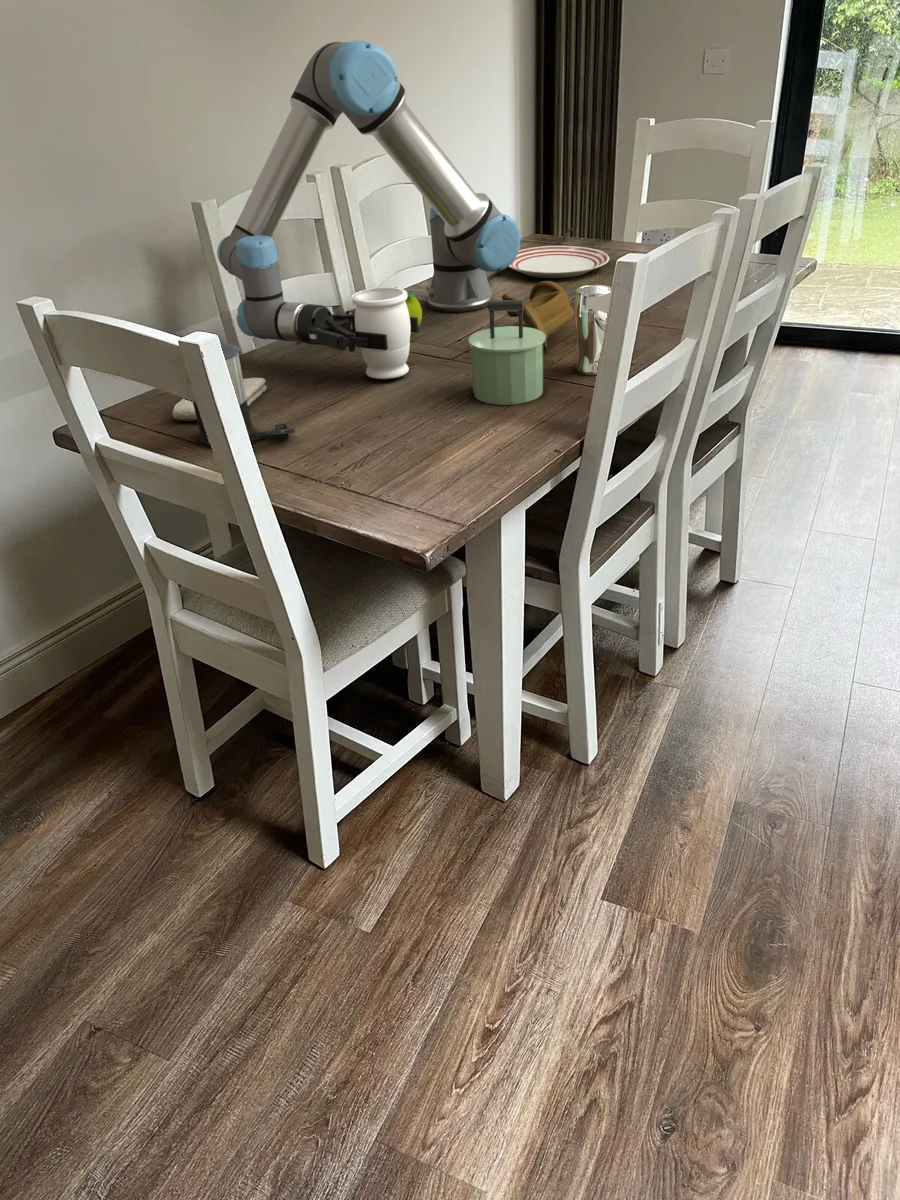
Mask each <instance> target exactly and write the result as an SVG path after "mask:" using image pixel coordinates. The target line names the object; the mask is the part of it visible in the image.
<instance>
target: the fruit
mask: <svg viewBox="0 0 900 1200" xmlns="http://www.w3.org/2000/svg"><path fill="white" fill-rule="evenodd" d="M393 288H398V287H397V286H394V287H393ZM407 294H408V297H407V299H406V301H405V303H406V305H407V308H408V312H409V317H418V328H419V327H420V325H421V323H422V319H423V308H422V306H421V303H420V302H419V300H418V298H417V296H416V294H415V293H413V292H407ZM414 334H415V332H411V333H410V337H411V336H413V335H414Z"/></svg>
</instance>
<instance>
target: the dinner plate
mask: <svg viewBox="0 0 900 1200" xmlns="http://www.w3.org/2000/svg"><path fill="white" fill-rule="evenodd" d="M609 261H610V256H609V254H607V252H605V251H602V250H600V249H596V248H591V247H585V246H576V245H575V246H574V245H556V246H551V245H544V246H535V247H528V248H524V249H519V252H518V254H517V256H516V258H515V259H514V261H513V262H512V263H511V264H510V265H509V266H508V267H510V268H509V269H512V271H513V270H514V271H515V272H518V273H521V274H523V275H526V276H529V277H532V278H539V279H566V278H573V277H578V276H582V275H585V274H587V273H589V272H591V271H594V270H596V269H599V268H600V267H602V266H604V265H606V264H607V263H609Z"/></svg>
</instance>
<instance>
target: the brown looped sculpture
mask: <svg viewBox="0 0 900 1200" xmlns="http://www.w3.org/2000/svg"><path fill="white" fill-rule="evenodd" d="M501 299H502V300H501V301H506V300H518V299H517V298H515V297H514V296H511V295H509V294H507V293H503V294H502V296H501ZM505 312H506V313H507V315H508V316H509V317H510V318H518V311H505ZM574 317H575V309H574V308H573V307H572V306H571V303H570V299H569V296H568V294H567V292H566V291H565V289H564V288H563V287H562V285H559V283H557V282H554V281H551V280H543V281H542V280H541V281H539V282H537V283H535V284H534V285H533V286H532V289H531V290H530V293H529V301H527V302H526V303H524V310H523V322H524V323H525V325H526V327H529V328H534V329H537V330H540V331H542V332H543V333H544V334H545V336H546V340H545V342H544V343H543V354H546V352H547V351H548V344H547V340H548V339H549V338H550V336H552V335H553V334H555V333H557V332H558V331H559V330H561V328H564V327H565V326H566V325H568V324H569V323H570V322H571V321H572V320H573V319H574Z"/></svg>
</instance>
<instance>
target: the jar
mask: <svg viewBox="0 0 900 1200" xmlns="http://www.w3.org/2000/svg"><path fill="white" fill-rule="evenodd" d="M407 293H408V291H407V290H406V289H404V288H400V287H397V288H394V287H392V286H387V287H372V288H367V289H363V290H359V291H357V292H355V293H353V294H352V295H351V301H352V303H353V304H354V306H355V310H354V311H355V329H356V332H357V331H358V332H367V333H377V334H386V335H387V345H388V349H387V350H378V349H370V348H361V347H359V349H360V353H361V356H362V358H363V361H364V363H365V364H366V365H367V367H366V369H365V374H366V376H368V377H369V378H372V379H377V380H392V379H396V378H400V377H402V376H405V375H406V374H407V373H409V370H410V369H409V368H410V367H409V366H408V364H407V361H408V358H409V355H410V350H411V349H410V348H411V346H410V345H411V341H410V340H411V336H410V333H411V326H410V317H409V312H408V308H407V305H406V303H405V301H406V299H407V297H408V294H407Z"/></svg>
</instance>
